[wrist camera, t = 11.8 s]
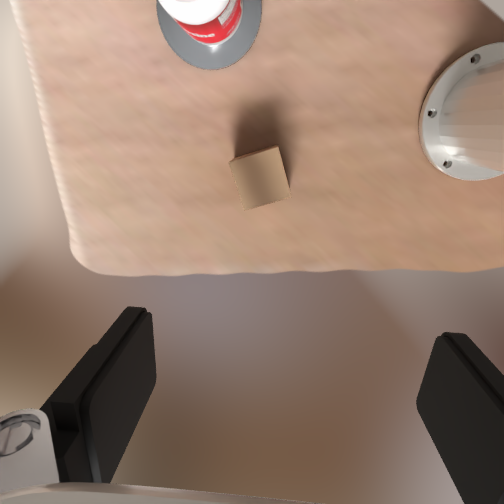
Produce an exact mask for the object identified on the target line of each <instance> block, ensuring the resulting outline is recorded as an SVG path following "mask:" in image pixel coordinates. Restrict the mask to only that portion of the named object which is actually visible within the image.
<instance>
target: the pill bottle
mask: <svg viewBox="0 0 504 504" xmlns="http://www.w3.org/2000/svg"><path fill="white" fill-rule="evenodd" d="M158 1H159V2H160V4H161V5H162V7H163V8H164V9H165V10H166V12H167V13H168V14H169V15H170V16H171V17H172V18H173V19H174V20H175V21H176V22H177V23H178V24H179V25H180V26H181V27H182V29H183V30H184V31H185V32H186V33H187V34H188V35H189V36H190V37H192V38H193V39H194V40H196V41H197V42H199V43H202V44H205V45H219V44H222V43H224V42H225V41H227V40H228V39H230V38H231V37H232V36H233V34H234V33H235V32H236V30H237V29H238V27H239V24H240V22H241V18H242V12H243V2H242V0H158Z"/></svg>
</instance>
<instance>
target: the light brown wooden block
mask: <svg viewBox="0 0 504 504" xmlns="http://www.w3.org/2000/svg"><path fill="white" fill-rule="evenodd" d="M229 166H230V169H231V172H232V175H233V178H234V181H235V184H236V187H237V190H238V193H239V196H240V200H241V203H242V206H243V209H244V211H245V210H249V209H252V208H256V207H259V206H263V205H266V204H270V203H273V202H276V201H280V200H283V199H287V198H290V197H291V193H290V188H289V185H288V181H287V177H286V173H285V169H284V166H283V162H282V158H281V154H280V151H279V147H278V144H277V145H273V146H270V147H267V148H264V149H261V150H258V151H255V152H251V153H248V154H245V155H242V156H239V157H236V158H234V159H232V160H231V161H230V162H229Z"/></svg>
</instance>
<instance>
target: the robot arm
mask: <svg viewBox="0 0 504 504" xmlns="http://www.w3.org/2000/svg"><path fill="white" fill-rule="evenodd" d="M471 58H472V59H473V61H472V63H471ZM428 111H430V112H431V114H430V115H429V116H428ZM419 137H420V143H421V146H422V149H423V152H424V153H425V155H426V157H427V159H428V160H429V161H430V162H431V164H432V165H433V166H434V167H435V168H436V169H438V170H439V171H441V172H442V173H444V174H446V175H449V176H451V177H454V178H458V179H462V180H473V181H477V180H485V179H490V178H493V177H497V176H500V175H502V174H504V42H496V43H493V44H489V45H485V46H482V47H479V48H477V49H474V50H472V51H470V52H468V53H467V54H465V55H463V56H461V57H460V58H458V59H457V60H456V61H454V62H453V63H452V64H451V65H449V66H448V67H447V68H446V69H445V70H444V71H443V72H442V74H441V75H440V76H439V77H438V78H437V79H436V81H435V82H434V84H433V85H432V87H431V88H430V90H429V92H428V94H427V96H426V98H425V100H424V103H423V106H422V110H421V113H420V119H419ZM444 162H446V163H445V165H444V166H443V163H444ZM155 383H156V363H155V350H154V336H153V323H152V314H151V313H150V312H147V310H146V308H142V307H127V308H126V309H125V310H124V311H123V312H122V313H121V315H120V316H119V317H118V319H117V320H116V321H115V322H114V323H113V325H112V326H111V327H110V328H109V329H108V331H107V332H106V333H105V334H104V336H103V337H102V338H101V339H100V341H99V342H98V343H97V344H95V345H93V346H92V347H91V348H90V349H89V350H88V351H87V352H86V354H85V355H84V356H83V357H82V359H81V360H80V361H79V362H78V363H77V364H76V366H75V367H74V368H73V370H72V371H71V372H70V373H69V374H68V376H67V377H66V378H65V379H64V380H63V381H62V383H61V384H60V385H59V386H58V388H57V389H56V390H55V391H54V392H53V394H52V395H51V396H50V397H49V398H48V399H47V401H46V402H45V403H44V404H43V406H42V407H41V408H40V409H39V410H37V409H32V408H31V409H21V410H17V411H14V412H11V413H8V414H6V415H4V416H2V417H0V504H320V503H310V502H301V501H291V500H282V499H272V498H263V497H253V496H242V495H232V494H222V493H212V492H202V491H192V490H182V489H171V488H160V487H148V486H135V485H134V486H133V485H122V484H110V482H111V480H112V478H113V475H114V473H115V471H116V469H117V467H118V464H119V462H120V460H121V458H122V456H123V454H124V452H125V449H126V447H127V445H128V443H129V441H130V439H131V436H132V434H133V432H134V430H135V428H136V426H137V423H138V421H139V419H140V417H141V415H142V413H143V410H144V408H145V406H146V404H147V402H148V400H149V397H150V395H151V393H152V391H153V389H154V386H155ZM416 402H417V403H416V404H417V410H418V412H419V414H420V416H421V418H422V420H423V422H424V424H425V426H426V428H427V430H428V432H429V434H430V436H431V438H432V440H433V442H434V444H435V446H436V448H437V450H438V452H439V454H440V456H441V458H442V460H443V462H444V464H445V466H446V468H447V470H448V472H449V474H450V476H451V478H452V480H453V482H454V484H455V486H456V488H457V490H458V492H459V494H460V496H461V498H462V500H463V502H464V504H504V375H503V374H502V373H501V372H500V371H499V370H498V369H497V368H496V367H495V365H494V364H493V363H492V362H491V361H490V360H489V359H488V358H487V357H486V356H485V355H484V354H483V352H482V351H481V350H480V349H479V348H478V347H477V346H476V345H475V344H474V343H473V341H472V340H471V339H470V338H469V337H468V336H467V335H466V334H463V333H450V332H444V333H443V334H442V335H441V336H438V337H437V338H436V340H435V343H434V346H433V349H432V352H431V355H430V359H429V362H428V365H427V368H426V371H425V375H424V378H423V381H422V384H421V387H420V390H419V393H418V396H417V400H416Z"/></svg>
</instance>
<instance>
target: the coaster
mask: <svg viewBox="0 0 504 504" xmlns="http://www.w3.org/2000/svg"><path fill="white" fill-rule="evenodd" d="M242 2H243V12H242V18H241V22H240V24H239V27H238V29H237V30H236V32H235V33H234V34H233V36H232V37H231V38H230V39H228V40H227V41H225V42H224V43H222V44H219V45H205V44H202V43H199V42H197V41H196V40H194V39H193V38H192V37H190V36H189V35H188V34H187V33H186V32H185V31H184V30H183V29H182V27H181V26H180V25H179V24H178V23H177V22H176V21H175V20H174V19H173V18H172V17H171V16H170V15H169V14H168V13H167V12H166V10H165V9H164V8H163V7H162V5H161V4H160V2H159V1H158V0H157V15H158V20H159V24H160V27H161V30H162V33H163V35H164V37H165V39H166V41H167V43H168V44H169V46H170V47H171V48H172V50H173V51H174V52H175V53H176V54H177V55H178V56H179V57H180V58H182V59H183V60H184V61H186V62H187V63H189V64H190V65H193V66H195V67H197V68H201V69H206V70H218V69H223V68H226V67H229V66H231V65H232V64H234V63H236V62H237V61H239V60H240V59H241V58H242V57H243V56H244V55H245V54H246V53H247V52H248V50H249V49H250V48H251V46H252V44H253V43H254V41H255V38H256V36H257V33H258V30H259V27H260V22H261V14H262V4H261V0H242Z"/></svg>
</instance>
